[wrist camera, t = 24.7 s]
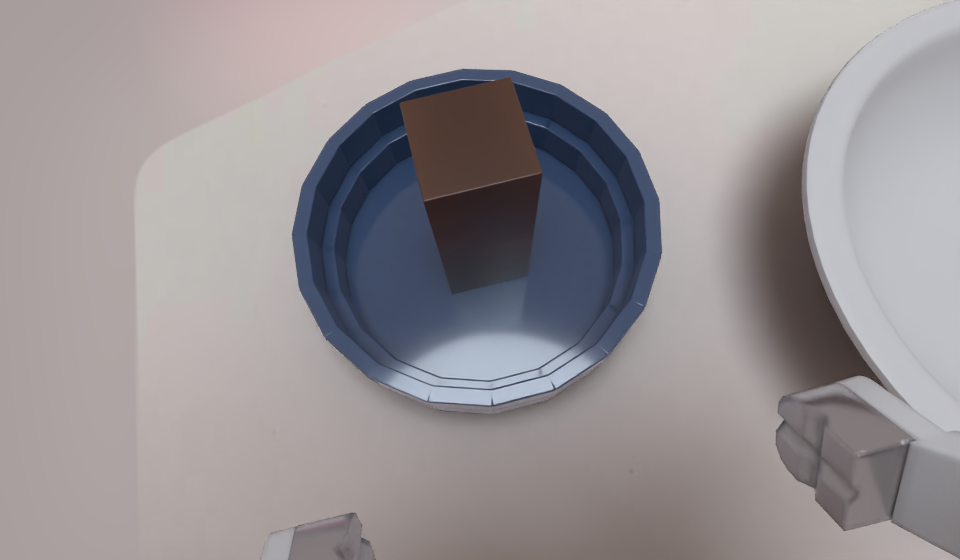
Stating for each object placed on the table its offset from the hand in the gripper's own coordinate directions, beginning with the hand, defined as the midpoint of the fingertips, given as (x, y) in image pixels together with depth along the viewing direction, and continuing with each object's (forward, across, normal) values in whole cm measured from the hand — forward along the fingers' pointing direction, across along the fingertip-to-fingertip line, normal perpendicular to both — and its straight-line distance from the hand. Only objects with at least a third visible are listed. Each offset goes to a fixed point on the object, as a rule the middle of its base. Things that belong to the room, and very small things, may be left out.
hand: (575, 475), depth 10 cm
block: (+18, 0, +2) cm, 18 cm away
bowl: (+18, 0, +3) cm, 18 cm away
